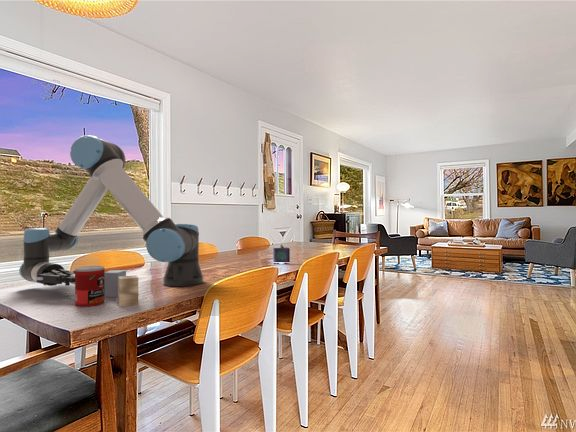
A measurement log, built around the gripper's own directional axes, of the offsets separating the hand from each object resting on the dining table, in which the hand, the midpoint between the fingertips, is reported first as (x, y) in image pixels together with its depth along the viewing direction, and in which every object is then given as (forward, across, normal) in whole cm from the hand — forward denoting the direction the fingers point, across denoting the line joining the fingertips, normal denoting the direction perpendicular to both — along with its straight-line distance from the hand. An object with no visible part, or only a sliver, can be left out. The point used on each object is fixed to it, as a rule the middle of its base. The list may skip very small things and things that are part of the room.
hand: (83, 280), depth 106 cm
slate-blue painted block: (0, -10, -7) cm, 12 cm away
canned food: (+4, 0, -7) cm, 8 cm away
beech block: (+14, -7, -7) cm, 16 cm away
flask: (+4, -103, -7) cm, 103 cm away
